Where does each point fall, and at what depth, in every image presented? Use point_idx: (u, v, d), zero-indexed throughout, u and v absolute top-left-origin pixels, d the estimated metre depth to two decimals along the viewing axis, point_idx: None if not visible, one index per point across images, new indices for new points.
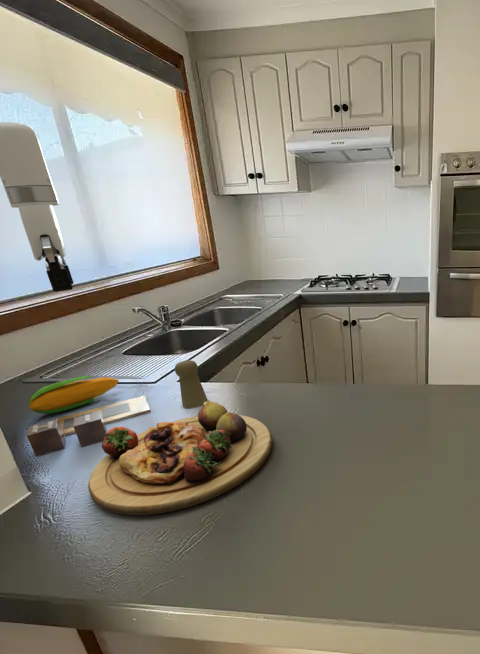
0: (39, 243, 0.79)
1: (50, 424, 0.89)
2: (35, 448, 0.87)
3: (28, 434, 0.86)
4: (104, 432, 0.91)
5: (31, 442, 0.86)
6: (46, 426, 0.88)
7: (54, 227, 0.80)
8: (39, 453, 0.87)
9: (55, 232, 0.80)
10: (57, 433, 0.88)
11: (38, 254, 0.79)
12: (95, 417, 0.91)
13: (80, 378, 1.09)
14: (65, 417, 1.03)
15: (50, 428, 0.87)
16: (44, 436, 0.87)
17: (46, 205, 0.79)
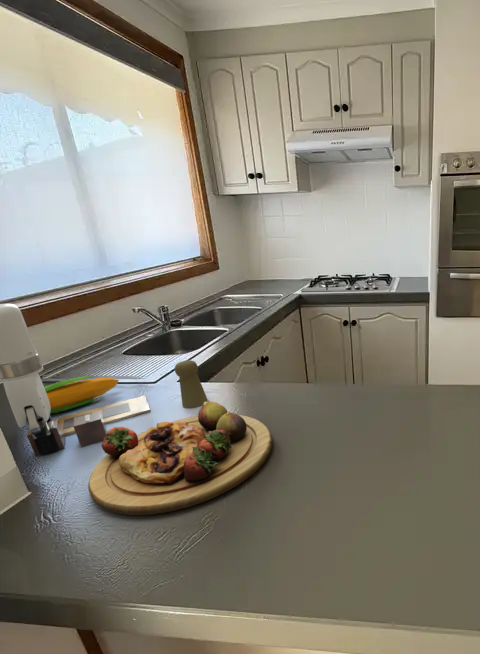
0: (26, 420, 0.82)
1: (50, 424, 0.89)
2: (35, 448, 0.87)
3: (28, 434, 0.86)
4: (104, 432, 0.91)
5: (31, 442, 0.86)
6: None
7: (38, 397, 0.83)
8: (39, 453, 0.87)
9: (39, 401, 0.83)
10: (57, 433, 0.88)
11: (22, 424, 0.82)
12: (95, 417, 0.91)
13: (80, 378, 1.09)
14: (65, 417, 1.03)
15: (50, 428, 0.87)
16: None
17: (30, 377, 0.82)
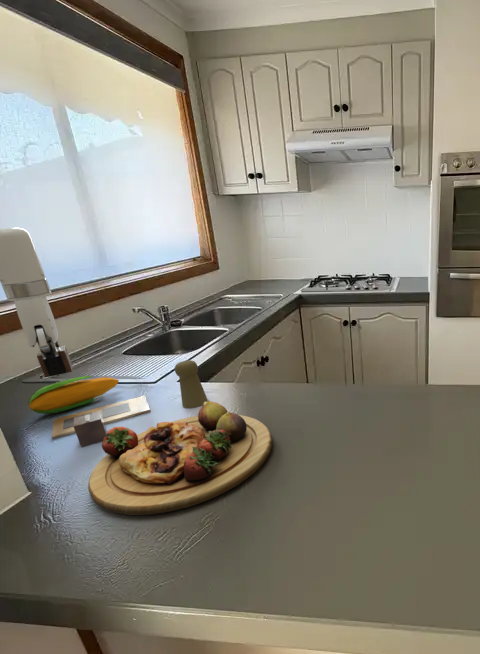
0: (35, 339, 0.88)
1: (58, 348, 0.94)
2: (44, 369, 0.92)
3: (38, 355, 0.91)
4: (104, 432, 0.91)
5: (41, 363, 0.91)
6: None
7: (47, 317, 0.88)
8: (48, 374, 0.92)
9: (48, 322, 0.88)
10: (65, 356, 0.93)
11: (32, 342, 0.87)
12: (95, 417, 0.91)
13: (80, 378, 1.09)
14: (65, 417, 1.03)
15: (58, 351, 0.93)
16: None
17: (39, 298, 0.87)
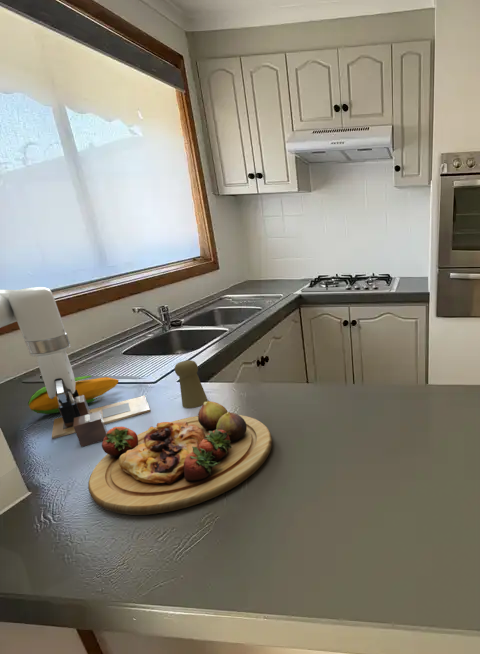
0: (53, 386, 0.92)
1: (78, 399, 0.99)
2: None
3: None
4: (104, 432, 0.91)
5: None
6: (75, 400, 0.98)
7: (66, 371, 0.93)
8: (69, 424, 0.97)
9: (67, 375, 0.93)
10: (85, 406, 0.98)
11: (52, 395, 0.92)
12: (95, 417, 0.91)
13: (80, 378, 1.09)
14: None
15: (78, 402, 0.98)
16: None
17: (60, 353, 0.92)
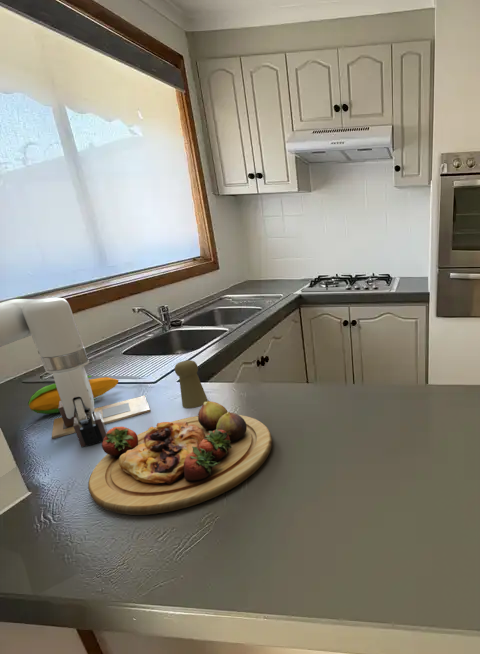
0: (74, 411, 0.85)
1: None
2: (65, 419, 0.97)
3: (59, 407, 0.96)
4: (104, 432, 0.91)
5: (62, 414, 0.96)
6: None
7: (85, 388, 0.85)
8: (69, 424, 0.97)
9: (86, 393, 0.85)
10: None
11: (70, 415, 0.85)
12: (95, 417, 0.91)
13: None
14: None
15: None
16: None
17: (78, 369, 0.84)
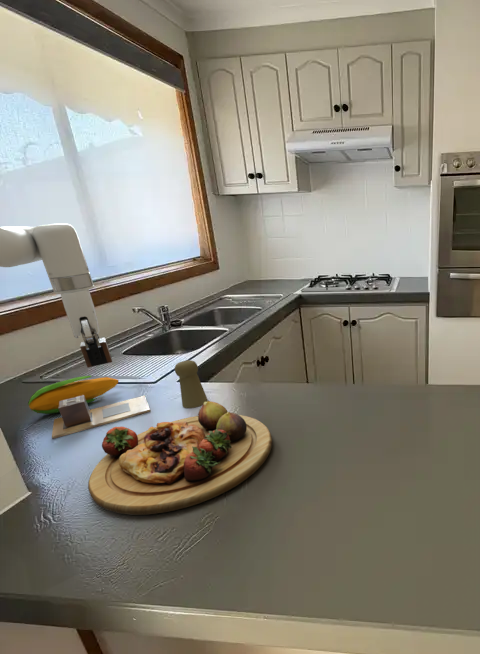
0: (80, 330, 0.91)
1: (78, 399, 0.99)
2: (65, 419, 0.97)
3: (59, 407, 0.96)
4: (108, 355, 0.98)
5: (62, 414, 0.96)
6: (75, 400, 0.98)
7: (91, 309, 0.92)
8: (69, 424, 0.97)
9: (92, 314, 0.92)
10: (85, 406, 0.98)
11: (77, 333, 0.91)
12: (100, 340, 0.98)
13: (80, 378, 1.09)
14: None
15: (78, 402, 0.98)
16: (74, 409, 0.97)
17: (84, 291, 0.91)
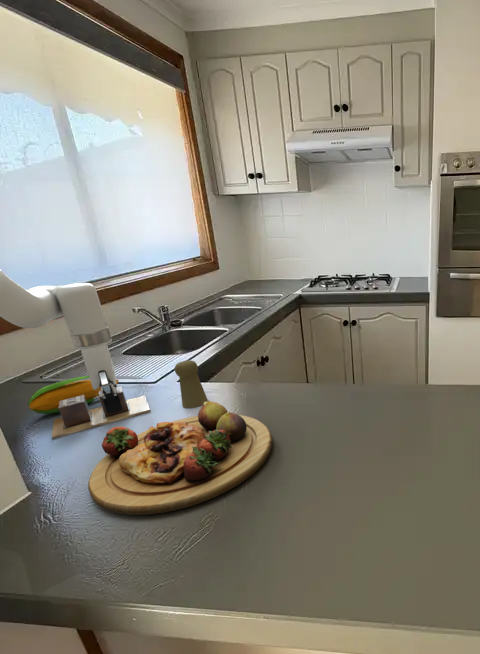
0: (97, 378, 0.96)
1: (78, 399, 0.99)
2: (65, 419, 0.97)
3: (59, 407, 0.96)
4: (125, 404, 1.03)
5: (62, 414, 0.96)
6: (75, 400, 0.98)
7: (109, 363, 0.97)
8: (69, 424, 0.97)
9: (110, 367, 0.97)
10: (85, 406, 0.98)
11: (96, 386, 0.96)
12: (117, 390, 1.03)
13: (80, 378, 1.09)
14: None
15: (78, 402, 0.98)
16: (74, 409, 0.97)
17: (103, 346, 0.96)
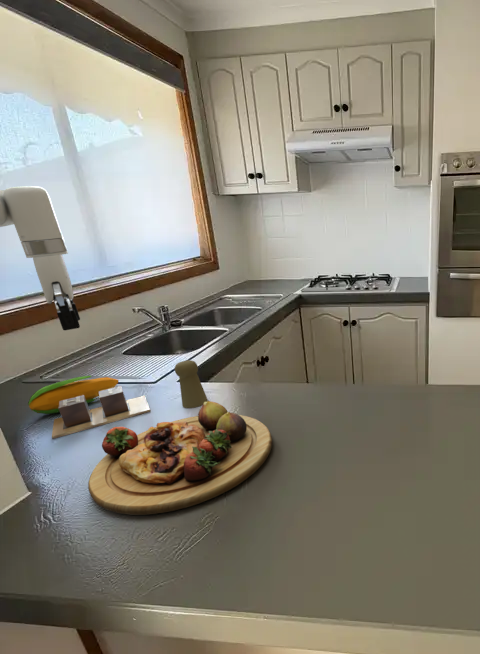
0: (51, 289, 0.90)
1: (78, 399, 0.99)
2: (65, 419, 0.97)
3: (59, 407, 0.96)
4: (125, 404, 1.03)
5: (62, 414, 0.96)
6: (75, 400, 0.98)
7: (64, 274, 0.91)
8: (69, 424, 0.97)
9: (65, 279, 0.91)
10: (85, 406, 0.98)
11: (50, 298, 0.90)
12: (117, 390, 1.03)
13: (80, 378, 1.09)
14: None
15: (78, 402, 0.98)
16: (74, 409, 0.97)
17: (57, 256, 0.90)
